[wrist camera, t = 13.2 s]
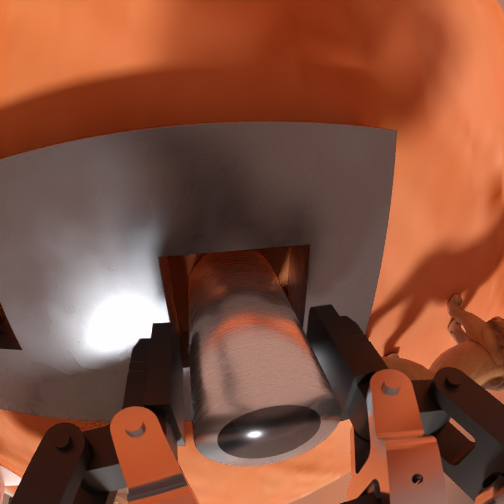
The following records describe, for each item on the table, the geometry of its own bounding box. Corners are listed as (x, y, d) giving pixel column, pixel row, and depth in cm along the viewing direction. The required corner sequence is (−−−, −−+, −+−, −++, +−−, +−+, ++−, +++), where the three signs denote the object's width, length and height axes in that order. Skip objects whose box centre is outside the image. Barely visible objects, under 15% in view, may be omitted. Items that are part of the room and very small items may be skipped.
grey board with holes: (-83, 190, 8) (-109, 204, 6) (363, 125, 12) (396, 130, 10) (-7, 380, 14) (-19, 404, 12) (332, 366, 18) (347, 395, 16)
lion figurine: (491, 255, 17) (577, 320, 9) (484, 307, 20) (551, 372, 12) (318, 353, 17) (382, 482, 9) (332, 397, 20) (381, 501, 12)
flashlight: (184, 248, 13) (181, 401, 6) (275, 241, 14) (355, 374, 6) (193, 322, 15) (204, 472, 8) (273, 314, 15) (328, 451, 8)
